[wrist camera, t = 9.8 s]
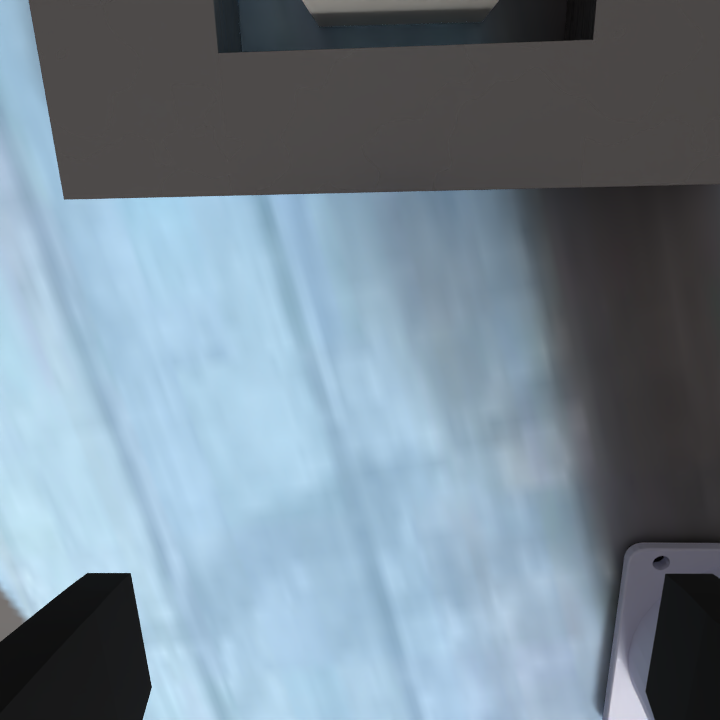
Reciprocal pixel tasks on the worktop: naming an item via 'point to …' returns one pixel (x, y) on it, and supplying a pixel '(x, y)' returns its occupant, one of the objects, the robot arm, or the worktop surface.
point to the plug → (397, 12)
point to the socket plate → (376, 104)
